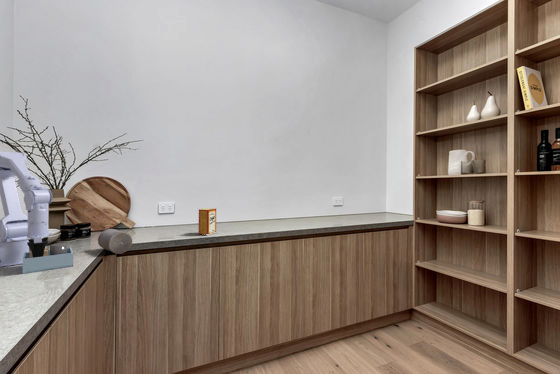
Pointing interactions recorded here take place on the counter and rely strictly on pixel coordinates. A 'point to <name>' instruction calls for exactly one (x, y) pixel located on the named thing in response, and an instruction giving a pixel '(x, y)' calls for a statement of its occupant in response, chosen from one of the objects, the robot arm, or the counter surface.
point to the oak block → (43, 254)
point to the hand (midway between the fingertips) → (38, 259)
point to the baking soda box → (207, 220)
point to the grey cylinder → (58, 249)
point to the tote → (47, 262)
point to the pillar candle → (115, 241)
